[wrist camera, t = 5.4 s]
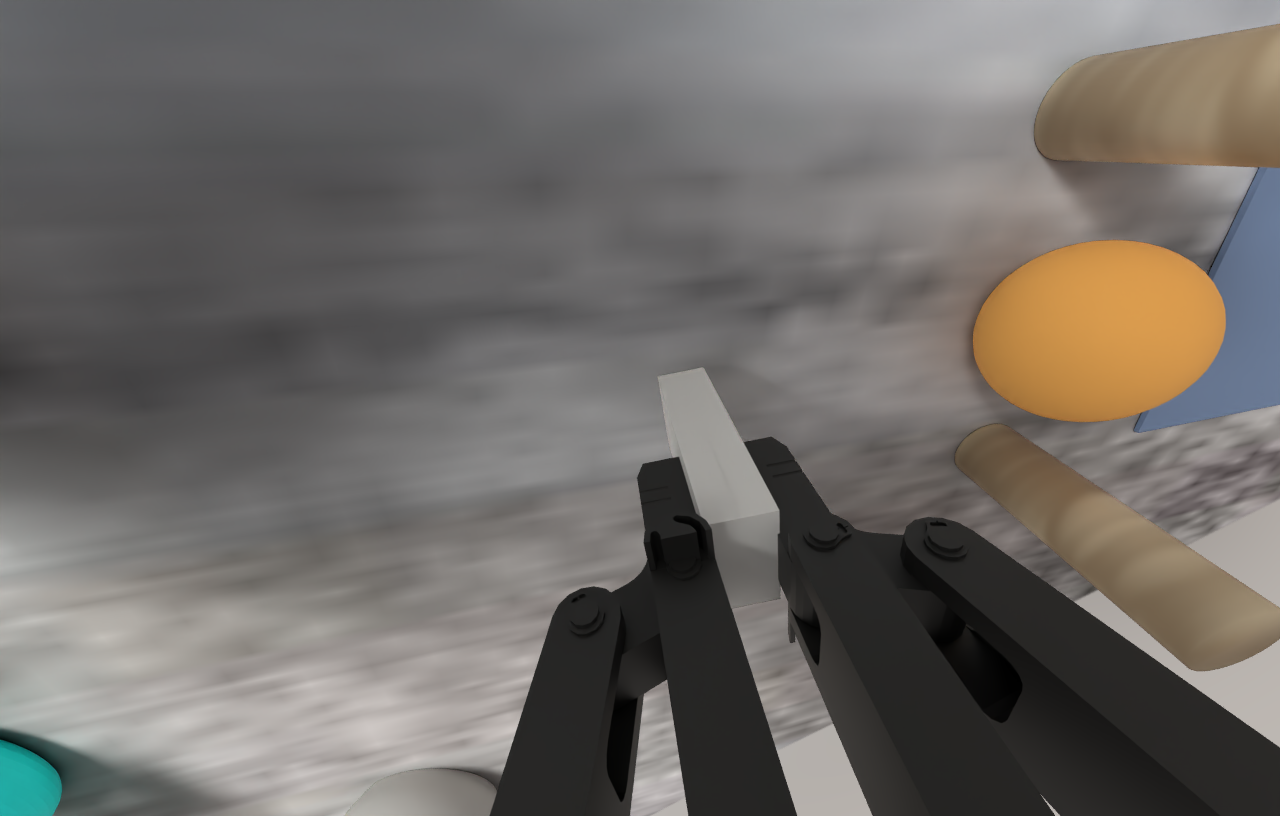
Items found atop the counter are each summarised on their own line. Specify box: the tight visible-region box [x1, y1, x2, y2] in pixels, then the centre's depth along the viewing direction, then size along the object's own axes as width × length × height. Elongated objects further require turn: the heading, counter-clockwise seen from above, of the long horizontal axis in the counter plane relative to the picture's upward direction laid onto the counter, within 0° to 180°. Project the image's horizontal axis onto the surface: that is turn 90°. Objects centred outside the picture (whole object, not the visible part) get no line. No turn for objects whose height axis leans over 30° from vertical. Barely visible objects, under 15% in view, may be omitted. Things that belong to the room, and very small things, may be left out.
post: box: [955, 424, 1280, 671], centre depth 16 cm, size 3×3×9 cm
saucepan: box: [345, 768, 497, 816], centre depth 29 cm, size 11×18×4 cm, turn 115°
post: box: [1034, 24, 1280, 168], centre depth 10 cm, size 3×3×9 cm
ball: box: [973, 240, 1226, 422], centre depth 14 cm, size 6×6×6 cm
